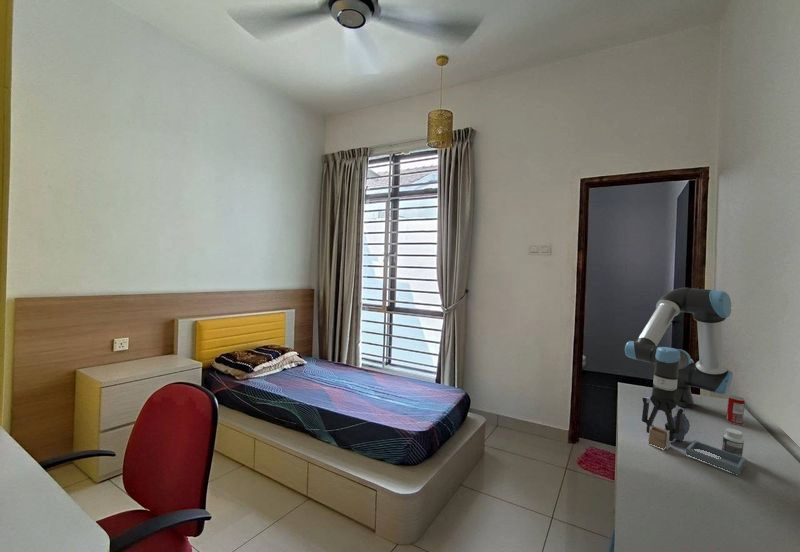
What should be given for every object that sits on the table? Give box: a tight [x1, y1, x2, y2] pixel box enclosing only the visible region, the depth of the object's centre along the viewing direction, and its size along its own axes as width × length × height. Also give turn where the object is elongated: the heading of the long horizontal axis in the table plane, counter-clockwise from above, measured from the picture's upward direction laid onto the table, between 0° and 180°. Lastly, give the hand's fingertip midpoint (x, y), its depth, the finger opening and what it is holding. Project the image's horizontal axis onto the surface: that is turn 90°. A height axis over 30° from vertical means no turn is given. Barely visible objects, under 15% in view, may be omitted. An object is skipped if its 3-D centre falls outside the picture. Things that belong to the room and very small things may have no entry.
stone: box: [664, 412, 691, 443], centre depth 147 cm, size 14×6×10 cm, turn 129°
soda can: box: [726, 395, 746, 426], centre depth 165 cm, size 6×6×12 cm
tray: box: [685, 440, 746, 476], centre depth 132 cm, size 11×15×3 cm
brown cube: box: [648, 425, 668, 449], centre depth 141 cm, size 6×5×6 cm
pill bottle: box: [721, 427, 745, 457], centre depth 135 cm, size 6×6×10 cm
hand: (658, 444), depth 142 cm, fingers closed on brown cube, 5 cm apart
